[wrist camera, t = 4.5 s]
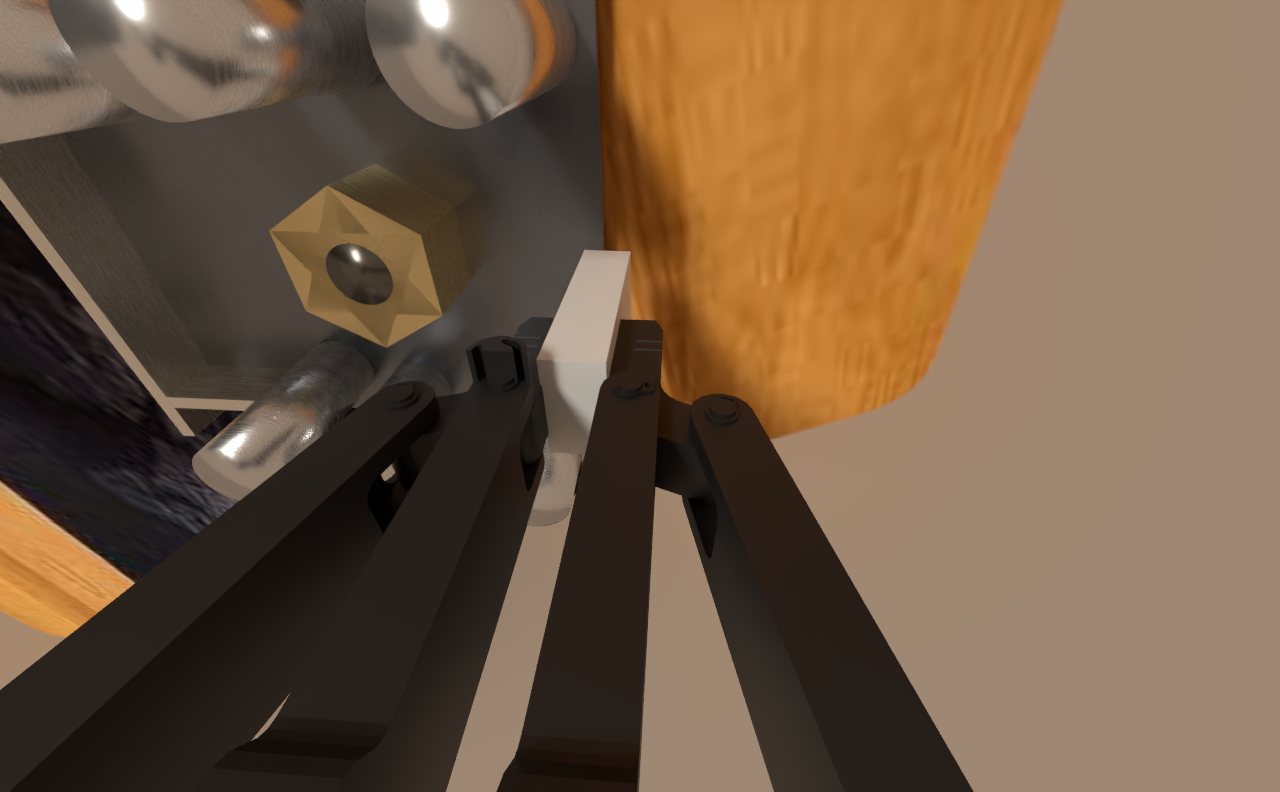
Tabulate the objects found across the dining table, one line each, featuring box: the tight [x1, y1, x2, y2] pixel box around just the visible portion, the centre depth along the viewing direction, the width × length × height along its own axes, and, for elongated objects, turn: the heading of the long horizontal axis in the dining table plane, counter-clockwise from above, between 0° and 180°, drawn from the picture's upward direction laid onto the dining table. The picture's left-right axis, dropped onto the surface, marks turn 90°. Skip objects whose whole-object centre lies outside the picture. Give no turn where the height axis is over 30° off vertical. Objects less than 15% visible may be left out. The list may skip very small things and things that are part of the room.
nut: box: [269, 164, 470, 348], centre depth 17 cm, size 5×6×3 cm
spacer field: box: [0, 0, 606, 526], centre depth 16 cm, size 20×17×8 cm
